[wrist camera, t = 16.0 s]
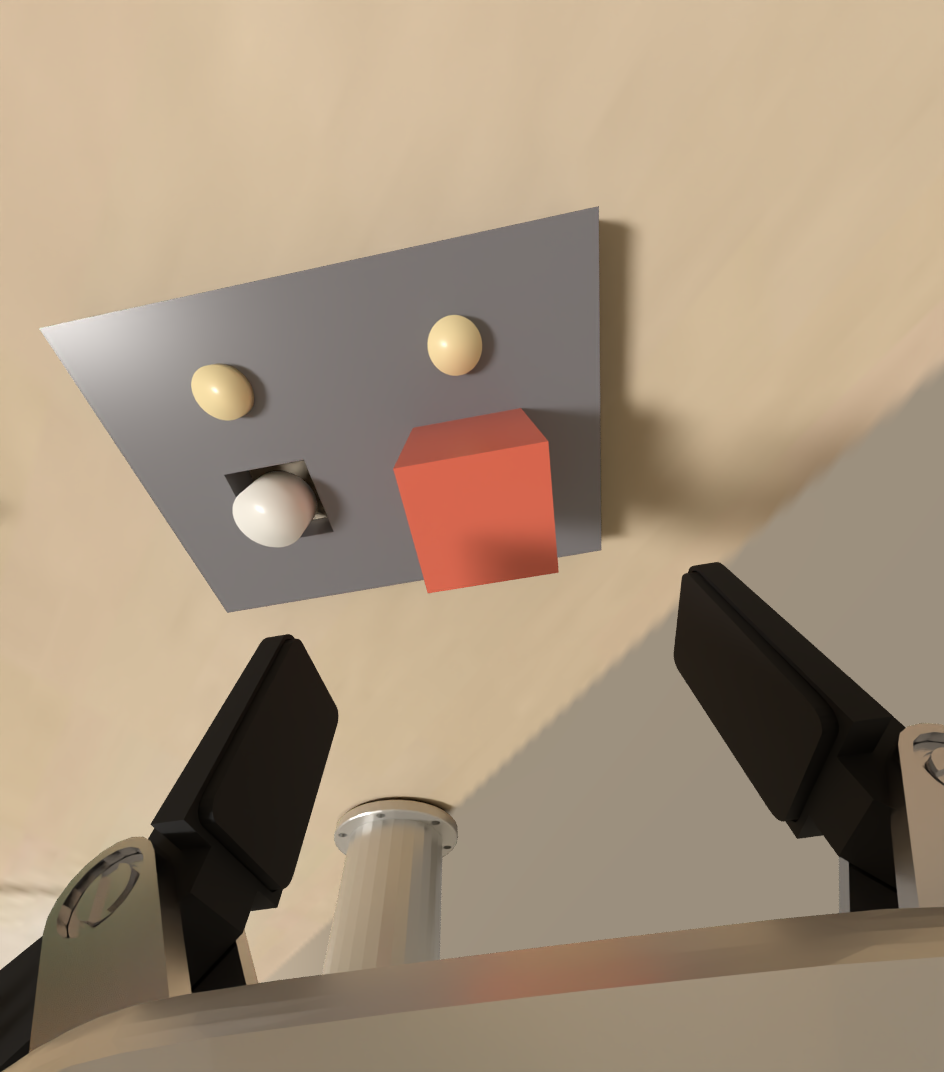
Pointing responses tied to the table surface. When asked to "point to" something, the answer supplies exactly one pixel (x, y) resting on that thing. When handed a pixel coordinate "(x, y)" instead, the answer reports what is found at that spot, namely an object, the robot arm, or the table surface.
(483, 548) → the cap
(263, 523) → the white egg
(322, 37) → the table surface
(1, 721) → the table surface
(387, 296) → the panel
